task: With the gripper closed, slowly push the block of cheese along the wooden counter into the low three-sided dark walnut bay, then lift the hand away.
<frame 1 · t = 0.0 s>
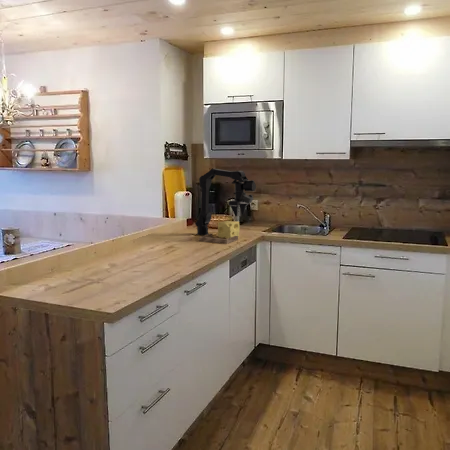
hand: (239, 215, 282), 15 cm above the counter, tool pointing down, fingers open, 9 cm apart
bay: (219, 240, 278), on the counter
cheese: (228, 237, 288), on the counter
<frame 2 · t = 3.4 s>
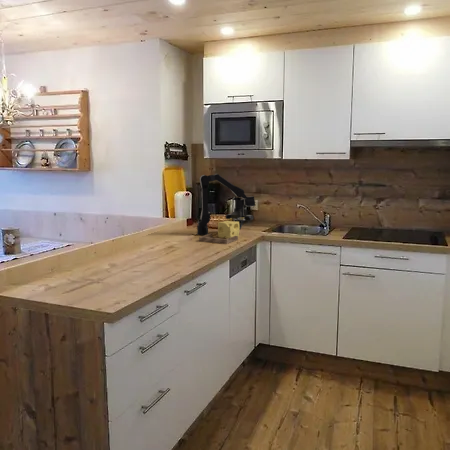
hand: (239, 229, 302), 2 cm above the counter, tool pointing down, fingers closed
nothing on the counter moved.
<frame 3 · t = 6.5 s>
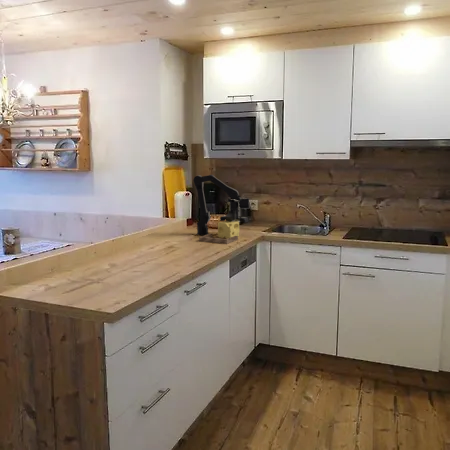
hand: (234, 231, 295), 2 cm above the counter, tool pointing down, fingers closed
cheese: (228, 237, 288), on the counter, touching gripper
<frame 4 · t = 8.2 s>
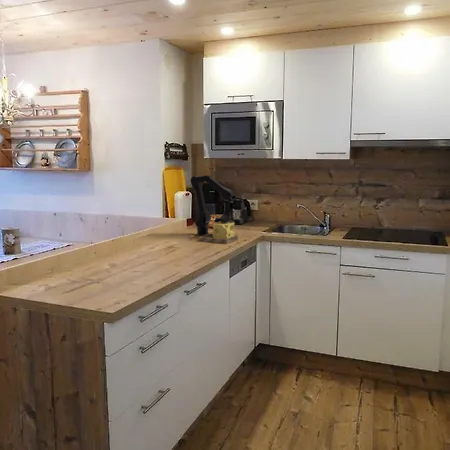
hand: (229, 233, 289), 2 cm above the counter, tool pointing down, fingers closed, pressing on cheese
cheese: (223, 239, 282), on the counter, touching gripper
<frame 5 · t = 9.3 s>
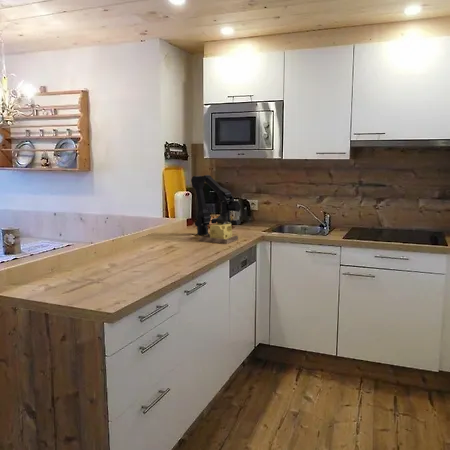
hand: (226, 234, 285), 2 cm above the counter, tool pointing down, fingers closed, pressing on cheese
cheese: (220, 240, 278), on the counter, touching gripper
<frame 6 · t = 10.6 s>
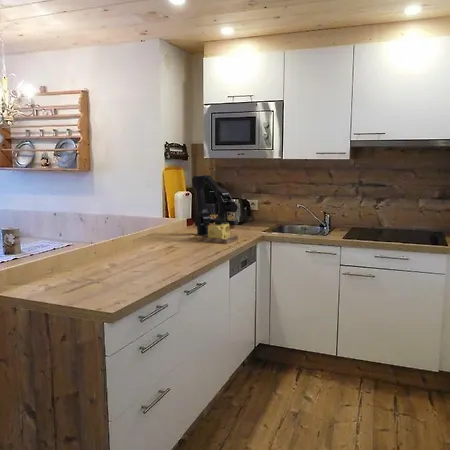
hand: (223, 234, 284), 2 cm above the counter, tool pointing down, fingers closed, pressing on cheese
cheese: (219, 240, 277), on the counter, touching bay, gripper
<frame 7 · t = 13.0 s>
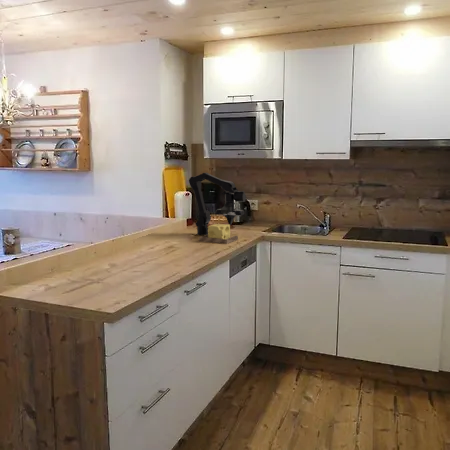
hand: (230, 225, 289), 7 cm above the counter, tool pointing down, fingers closed
cheese: (219, 241, 277), on the counter
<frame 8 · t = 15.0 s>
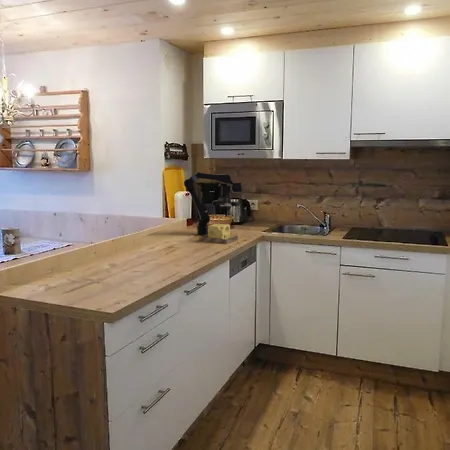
hand: (226, 216, 298), 12 cm above the counter, tool pointing down, fingers closed
nothing on the counter moved.
at the end: cheese inside the target area on the bay (1.1 cm from its centre), point 0.0 cm above the bay's base; cheese tilted 0° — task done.
